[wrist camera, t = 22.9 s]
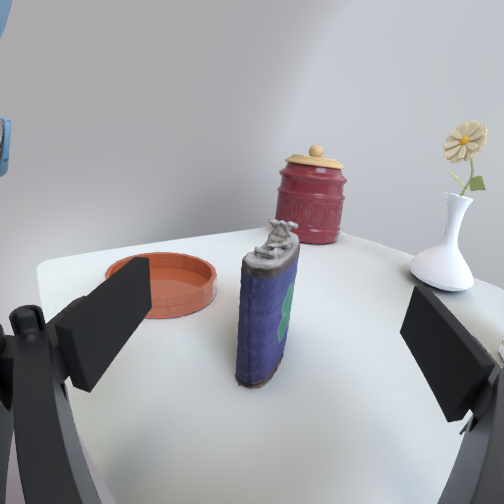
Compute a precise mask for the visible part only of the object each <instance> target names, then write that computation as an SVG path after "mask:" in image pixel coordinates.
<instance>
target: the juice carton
mask: <svg viewBox="0 0 504 504" xmlns="http://www.w3.org/2000/svg"><path fill="white" fill-rule="evenodd" d="M499 352H500V355H501V357H502V358H503V360H504V338H503V341H502V343H501V346H500V348H499Z"/></svg>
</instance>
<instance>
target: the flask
mask: <svg viewBox="0 0 504 504" xmlns="http://www.w3.org/2000/svg"><path fill="white" fill-rule="evenodd" d="M268 222H270V223H271V224H272V226H273V228H275V230H273V231H272V232H271V233H270V234H269V237H268V240H267V242H266V243H265V244H264V245H262V247H260V248H259V247H255V250H254V251H253V252H251V253H247V254H246V256H245V257H244V258H243V260H242V267H241V281H240V282H241V289H240V306H239V322H238V337H237V338H238V346H237V361H236V374H235V378H236V380H237V382H238V386H240V385H242V386H244V387H247V388H250V389H252V388H260V387H261V386H263V385H265V384H266V383H267V382H268V381H269V380H270V379H271V378H272V377H273V374H274V373H275V372H276V371H277V368H278V366H279V364H280V363H281V359H282V357H283V351H284V346H285V342H286V337H287V331H288V323H289V318H290V310H291V303H292V297H293V291H294V283H295V277H296V273H297V263H298V257H299V251H300V240H299V238H298V235H296V234H294V233H292V232H290V230H291V228H292V227H294V228H296V229H297V228H298V224H297V223H293V222H291V221H289V222H288V223H287V222H284V221H283V220H281V221H277V220H276V219H273V220H270V219H269V220H268Z"/></svg>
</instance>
